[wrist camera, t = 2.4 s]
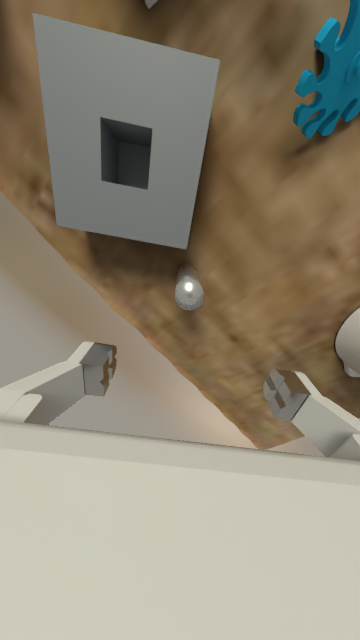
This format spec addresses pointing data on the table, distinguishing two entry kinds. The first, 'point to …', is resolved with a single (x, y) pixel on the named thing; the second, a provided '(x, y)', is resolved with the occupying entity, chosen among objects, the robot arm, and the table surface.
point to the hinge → (150, 3)
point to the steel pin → (188, 288)
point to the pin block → (123, 130)
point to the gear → (333, 77)
